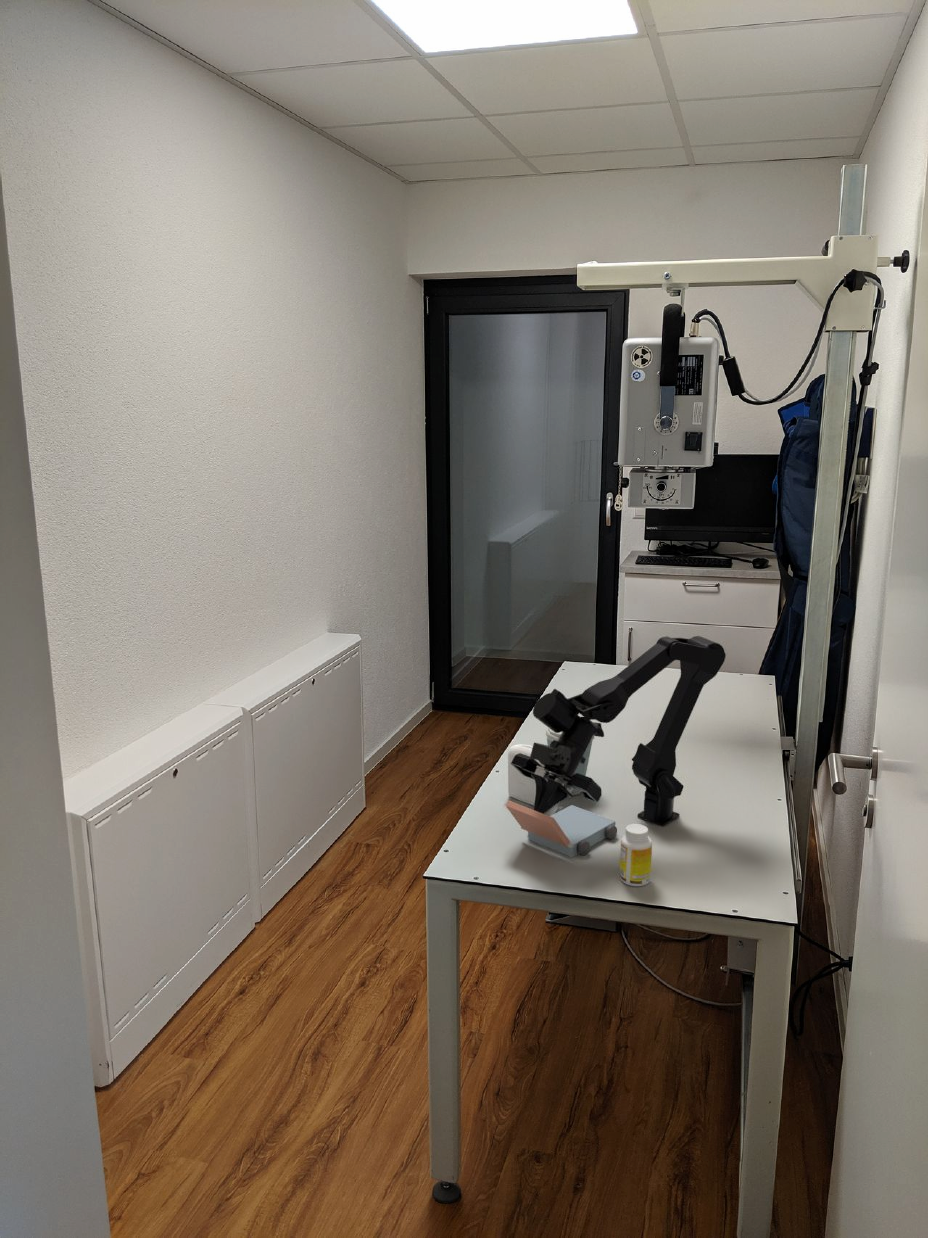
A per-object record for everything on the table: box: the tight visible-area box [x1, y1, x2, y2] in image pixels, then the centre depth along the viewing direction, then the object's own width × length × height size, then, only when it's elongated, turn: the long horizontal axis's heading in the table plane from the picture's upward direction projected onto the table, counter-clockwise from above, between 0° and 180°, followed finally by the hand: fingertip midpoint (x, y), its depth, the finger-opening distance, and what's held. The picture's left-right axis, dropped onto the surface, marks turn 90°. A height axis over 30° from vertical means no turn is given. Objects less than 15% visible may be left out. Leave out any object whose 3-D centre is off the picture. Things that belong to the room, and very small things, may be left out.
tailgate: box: [505, 800, 574, 849], centre depth 182 cm, size 1×12×10 cm
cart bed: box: [527, 804, 618, 858], centre depth 190 cm, size 14×14×3 cm
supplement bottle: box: [619, 823, 653, 887], centre depth 172 cm, size 6×6×10 cm
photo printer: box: [507, 743, 551, 806], centre depth 205 cm, size 10×4×12 cm, turn 45°
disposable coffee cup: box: [545, 728, 595, 796], centre depth 210 cm, size 11×11×15 cm
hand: (535, 816), depth 181 cm, fingers closed, pressing on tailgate
